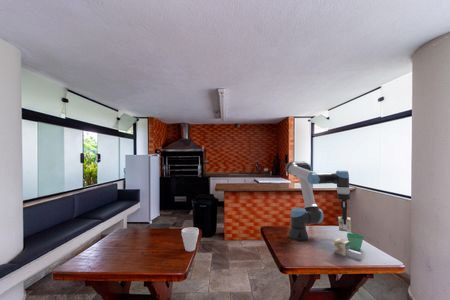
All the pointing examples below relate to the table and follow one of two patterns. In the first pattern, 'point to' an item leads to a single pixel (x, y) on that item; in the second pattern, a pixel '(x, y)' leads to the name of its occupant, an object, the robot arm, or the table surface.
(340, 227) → the cream patterned block
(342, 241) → the cream toy block
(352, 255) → the rail board
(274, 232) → the table surface
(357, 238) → the mug
